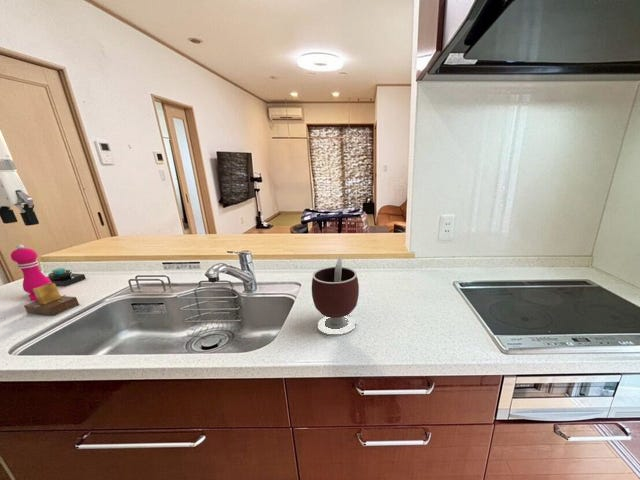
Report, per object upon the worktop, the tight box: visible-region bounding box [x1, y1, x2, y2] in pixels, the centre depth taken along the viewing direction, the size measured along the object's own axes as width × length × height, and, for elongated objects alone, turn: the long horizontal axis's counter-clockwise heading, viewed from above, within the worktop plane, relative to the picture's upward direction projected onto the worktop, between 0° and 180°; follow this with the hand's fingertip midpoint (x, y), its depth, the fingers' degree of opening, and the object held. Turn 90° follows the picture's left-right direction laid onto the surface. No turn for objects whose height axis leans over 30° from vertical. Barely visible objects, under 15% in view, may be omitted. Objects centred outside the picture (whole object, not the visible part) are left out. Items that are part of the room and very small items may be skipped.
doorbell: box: [46, 269, 87, 288], centre depth 120 cm, size 12×8×4 cm, turn 82°
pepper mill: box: [10, 243, 52, 302], centre depth 104 cm, size 7×7×20 cm
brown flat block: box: [23, 294, 80, 317], centre depth 99 cm, size 10×9×3 cm
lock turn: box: [33, 283, 62, 305], centre depth 97 cm, size 5×2×6 cm, turn 172°
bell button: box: [51, 267, 66, 275], centre depth 119 cm, size 4×4×2 cm
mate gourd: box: [311, 255, 360, 337], centre depth 89 cm, size 16×14×20 cm
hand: (21, 223), depth 94 cm, fingers open, 9 cm apart
